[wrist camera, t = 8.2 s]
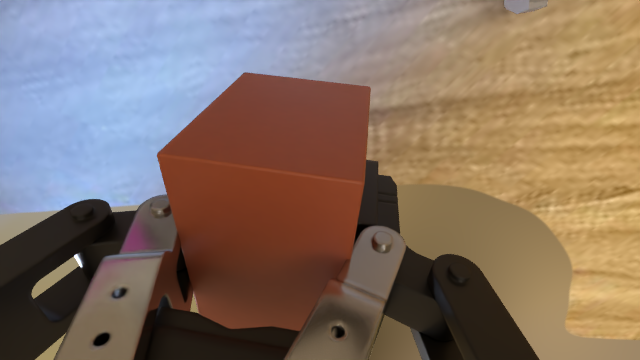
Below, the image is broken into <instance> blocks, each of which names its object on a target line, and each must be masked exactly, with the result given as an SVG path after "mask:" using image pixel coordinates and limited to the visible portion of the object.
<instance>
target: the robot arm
mask: <svg viewBox="0 0 640 360" xmlns="http://www.w3.org/2000/svg"><path fill="white" fill-rule="evenodd" d="M398 213H399V212H398V198H397V185H396V184H395V182H394V181H393V179H392V178H391V177H390V176H384V175H378V161H371V160H366V169H365V184H364V189H363V195H362V201H361V206H360V212H359V217H358V223H357V228H356V234H355V240H354V245H353V251H352V256H351V259H346V261H345V262H344V264H343V266H342V268H341V270H340V272H339V273H338V275H337V277H336V278H331V279H330V280H329V281H328V282H327V284H326V286H325V288H324V289H323V291H322V293H321V295H320V296H319V298H318V300H317V302H316V303H315V305H314V307H313V309H312V311H311V312H310V314H309V316H308V318H307V319H306V321H305V323H304V325H303V326H302V328H301V330H300V331H296V330H291V329H285V328H279V327H274V326H268V327H254V328H240V329H230V328H227V327H225V326H223V325H221V324H219V323H217V322H214V321H212V320H210V319H208V318H206V317H204V316H202V315H200V314H198V313H195V312H190V308H191V302H192V297H193V287H192V283H191V281H190V278H189V274H188V271H187V267H186V263H185V259H184V256H183V252H182V248H181V241H180V238H179V234H178V232H177V229H176V226H175V222H174V218H173V214H172V211H171V207H170V203H169V199H168V195H159V196H155V197H152V198H150V199H148V200H146V201H145V202H143V203H142V204H141V205H140V206H139V208H138V209H137V210H136V211H125V212H112V210H111V208H110V206H109V204H108V203H107V202H106V201H103V200H99V199H89V200H83V201H80V202H77V203H74V204H72V205H70V206H68V207H66V208H64V209H63V210H61V211H59V212H57V213H56V214H54V215H52V216H50V217H49V218H47V219H45V220H44V221H42V222H40V223H38V224H37V225H35V226H33V227H31V228H30V229H28V230H26V231H24V232H23V233H21V234H19V235H17V236H16V237H14V238H12V239H10V240H9V241H7V242H5V243H4V244H2V245H0V360H35V359H36V358H37V357H38V356H40V354H42V353H43V352H44V351H45V350H47V349H48V348H49V347H50V346H51V345H52V344H53V343H55V342H56V341H57V340H58V339H59V338H61V337H62V336H63V335H64V334H65V333H66V332H67V333H66V335H65V337H64V339H63V341H62V343H61V345H60V347H59V350H58V351H57V353H56V356H55V358H54V360H369V358H370V355H371V352H372V349H373V346H374V344H375V341H376V338H377V335H378V332H379V329H380V327H381V324H382V321H383V318H384V315H386V316H388V317H390V318H393V319H395V320H396V321H399V322H401V323H403V324H405V325H407V326H409V327H410V329H411V332H412V334H413V337H414V340H415V342H416V345H417V347H418V350H419V353H420V356H421V358H422V360H539V358H538V357H537V355H536V354H535V352H534V350H533V349H532V347H531V346H530V344H529V343H528V341H527V340H526V338H525V337H524V335H523V334H522V332H521V331H520V329H519V328H518V326H517V325H516V323H515V322H514V320H513V318H512V317H511V315H510V314H509V312H508V311H507V309H506V308H505V306H504V305H503V303H502V302H501V300H500V299H499V297H498V296H497V294H496V293H495V291H494V289H493V288H492V286H491V285H490V283H489V282H488V280H487V279H486V277H485V276H484V274H483V273H482V271H481V270H480V269H479V268H478V267H477V266H476V265H475V264H474V263H473V262H471V261H470V260H468V259H466V258H464V257H462V256H458V255H454V254H445V255H441V256H439V257H437V259H435V261H434V260H431V259H429V258H426V257H424V256H421V255H419V254H417V253H415V252H414V251H412V250H411V249H409V248H408V247H407V246H406V244H405V241H404V239H403V237H402V236H401V235H400V227H399V214H398ZM73 256H75V258H76V260H77V262H78V263H79V265H80V266H79V267H77V268H76V269H74V270H73V271H72V272H70V273H69V274H68V275H66V276H65V277H64V278H62V279H61V280H60V281H58V282H57V283H55V284H54V285H53V286H51V287H50V288H48V289H47V290H46V291H44V292H43V293H42V294H40V295H39V296H37V297H36V298H35V299H33V298H32V295H31V293H32V289H33V287H34V286H35V284H36V283H37V282H38V281H39V280H40V279H42V278H43V277H44V276H46V275H47V274H49V273H50V272H52V271H53V270H55V269H56V268H57V267H59V266H60V265H62V264H63V263H64V262H66V261H67V260H69V259H70V258H72V257H73Z"/></svg>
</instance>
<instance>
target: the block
mask: <svg viewBox="0 0 640 360" xmlns="http://www.w3.org/2000/svg"><path fill="white" fill-rule="evenodd" d="M370 91H371V88H370V87H368V86H359V85H350V84H341V83H333V82H324V81H315V80H307V79H298V78H289V77H280V76H272V75H263V74H254V73H243V74H242V75H241V76H240V77H239V78H238V79H237V80H236V81H235V82H234V83H233V84H232V85H230V86H229V87H228V88H227V89H226V90H225V91H224V92H223V93H222V94H221V95H220V96H219V97H218V98H216V99H215V100H214V101H213V102H212V103H211V104H210V105H209V106H208V107H207V108H206V109H205V110H204V111H202V112H201V113H200V114H199V115H198V116H197V117H196V118H195V119H194V120H193V121H192V122H191V123H190V124H189V125H187V126H186V127H185V128H184V129H183V130H182V131H181V132H180V133H179V134H178V135H177V136H176V137H175V138H173V139H172V140H171V141H170V142H169V143H168V144H167V145H166V146H165V147H164V148H163V149H162V150H161V151H159V152H158V154H157V158H158V162H159V165H160V169H161V173H162V177H163V180H164V184H165V188H166V192H167V195H168V199H169V203H170V207H171V211H172V214H173V218H174V222H175V226H176V229H177V232H178V234H179V238H180V241H181V248H182V252H183V256H184V259H185V263H186V267H187V271H188V274H189V278H190V281H191V283H192V287H193V293H194V297H195V301H196V305H197V308H198V312H199V314H200V315H202V316H204V317H206V318H208V319H210V320H212V321H214V322H217V323H219V324H221V325H223V326H225V327H227V328H230V329H240V328H254V327H268V326H274V327H279V328H285V329H291V330H296V331H300V330H301V328H302V326H303V325H304V323H305V321H306V319H307V318H308V316H309V314H310V312H311V311H312V309H313V307H314V305H315V303H316V302H317V300H318V298H319V296H320V295H321V293H322V291H323V289H324V288H325V286H326V284H327V282H328V281H329V280H330V279H331V278H336V277H337V275H338V273H339V272H340V270H341V268H342V266H343V264H344V262H345V261H346V259H351V256H352V251H353V245H354V240H355V234H356V228H357V223H358V217H359V212H360V206H361V201H362V195H363V189H364V184H365V169H366V153H367V137H368V122H369V106H370Z"/></svg>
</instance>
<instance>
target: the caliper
mask: <svg viewBox="0 0 640 360" xmlns="http://www.w3.org/2000/svg"><path fill="white" fill-rule="evenodd" d="M547 2H548V0H504V6H505V8H506V9H508V10H510V11H512V12H514V13H516V14H520V13H526V12H532V11H535V10H538V9H541V8H543V7H546V6H547Z"/></svg>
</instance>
